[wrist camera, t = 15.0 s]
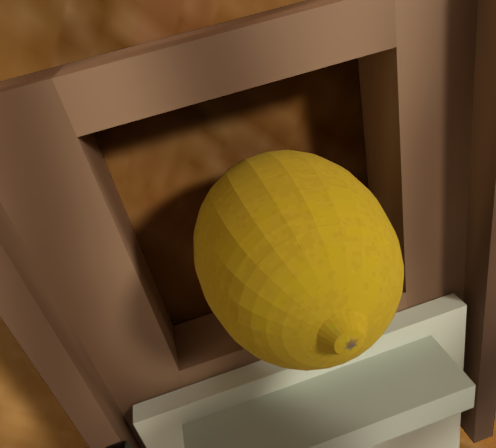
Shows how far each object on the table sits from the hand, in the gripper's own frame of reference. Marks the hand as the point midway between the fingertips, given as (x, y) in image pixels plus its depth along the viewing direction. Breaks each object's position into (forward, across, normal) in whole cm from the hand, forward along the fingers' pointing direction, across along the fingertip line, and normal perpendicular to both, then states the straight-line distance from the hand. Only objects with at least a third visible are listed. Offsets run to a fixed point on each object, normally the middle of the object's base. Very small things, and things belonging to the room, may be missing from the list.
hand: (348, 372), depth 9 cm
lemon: (+9, 0, 0) cm, 9 cm away
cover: (+6, 0, +10) cm, 12 cm away
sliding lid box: (+8, 0, +4) cm, 9 cm away
